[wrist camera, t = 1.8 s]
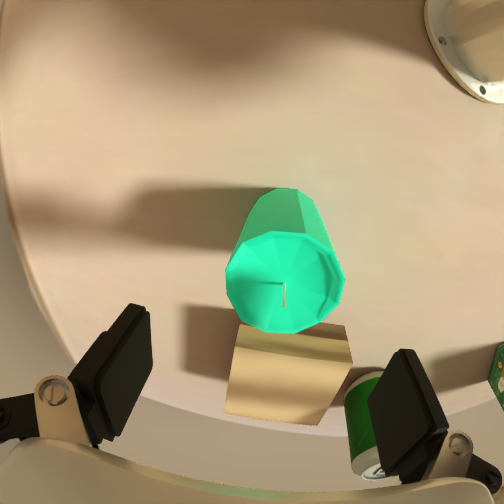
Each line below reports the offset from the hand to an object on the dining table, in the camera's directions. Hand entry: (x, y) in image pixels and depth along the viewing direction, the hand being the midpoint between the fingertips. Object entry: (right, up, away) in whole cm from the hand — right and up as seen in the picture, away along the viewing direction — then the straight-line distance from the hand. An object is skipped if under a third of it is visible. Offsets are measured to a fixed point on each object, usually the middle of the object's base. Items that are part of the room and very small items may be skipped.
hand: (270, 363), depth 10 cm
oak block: (+2, -8, +17) cm, 19 cm away
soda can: (+14, -12, +21) cm, 28 cm away
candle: (+2, +6, +14) cm, 15 cm away
